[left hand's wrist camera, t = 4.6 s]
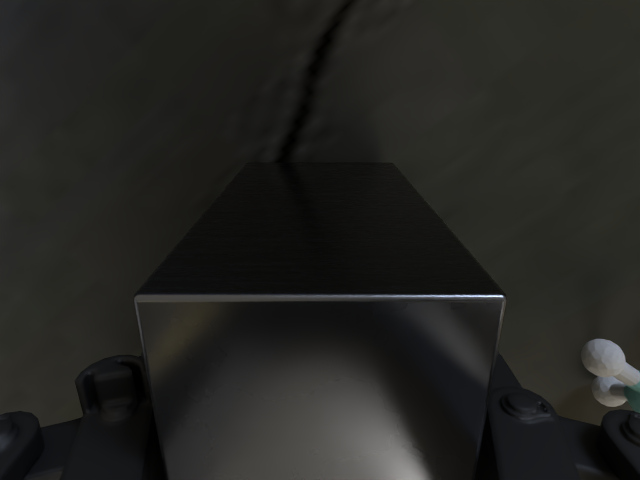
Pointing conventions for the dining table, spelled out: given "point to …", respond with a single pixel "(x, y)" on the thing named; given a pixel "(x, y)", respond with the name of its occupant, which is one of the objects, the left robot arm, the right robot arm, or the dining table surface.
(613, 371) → the molecular model
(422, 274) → the bar
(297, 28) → the dining table surface
